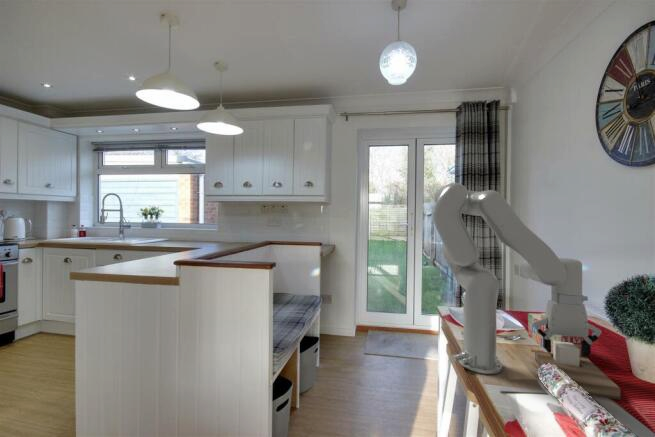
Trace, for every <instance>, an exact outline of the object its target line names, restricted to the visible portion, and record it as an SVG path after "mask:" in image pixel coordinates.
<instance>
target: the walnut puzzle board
mask: <svg viewBox="0 0 655 437" xmlns="http://www.w3.org/2000/svg"><path fill="white" fill-rule="evenodd" d="M534 361H535V362H536V363H537V365H538V366H539V367H540V366H541V365H543V364H548V363H550V364H554V365H556V366H557V367H558V368H559V369H561V370H563V371H564V372H565V373H566V374H567V375H568V376H569V377H570V378H571V379H572V380H573V381H575V382H576V383H577V384H578V385H579V386H581V387H582V388H583V389H584V390H585V391H587V392H588V393H589V394H590V395H589V396H594V397H599V398H600V397H601V398H607V399H614V400H621V388H620V387H619V386H618V384H616V383H615V382H614V381H613V380H612V379H611V378H610V377H608V375H606V374H605V373H604V372H603V371H602V370H601V369H600V368H599V367H598V366H597V365H595V364H594V362H593V361H591V360H590V359H589V358H588V357H585V356H581V357H580V360H579V367H578V366H571V365H564V364H557V362H556V361H555V360H554V359H553V353H548V352H547V351H540V350H534Z"/></svg>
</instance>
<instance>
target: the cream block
mask: <svg viewBox="0 0 655 437" xmlns="http://www.w3.org/2000/svg"><path fill="white" fill-rule="evenodd" d="M553 359H554V360H555V361H556V362H557V364H564V365H571V366H578V367H579V360H580V350H579V349H578V348H577V347H576V346H575V345H574V344H573V343H568V342H559V341H553Z"/></svg>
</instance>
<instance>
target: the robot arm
mask: <svg viewBox="0 0 655 437" xmlns="http://www.w3.org/2000/svg"><path fill="white" fill-rule="evenodd" d="M434 193H435V194H434V203H435V204H434V209H433V222H434V227H435V229H436V231H437V233H438V235H439V238H440V239H441V242H442V247H441V253H442V255H443V257H444V260H445V261H446V264H447V265H448V267H449V269H450V271H451V273H452V275H453V277H454V278H455V280H456V281H457V283H458V284H459V286H461V287H462V289H464V290H465V294H464V298H463V307H462V308H463V310H462V311H463V312H462V313H463V314H462V315H463V348H460V352H458V354H457V353H456V354H451V360H452V362H459V364H460V365H461V366H462V367H463V368H465V369H467V370H469V371H471V372H475V373H478V374H483V375H484V374H485V375H493V374H498V373H501V372H502V370H503V365H502V364H503V363H501V361H499V360H498V359H497V303H498V298H499V297H498V296H499V293H500V284H499V280H498V278H497V276H496V274H494V272H492V271H491V270H490V269H488V268H486V267H484V266H481V265H480V263H479V257H480V251H479V247H478V246H477V244H476V242H475V241H474V240H473V238H472V235H471V233H470V232H469V230H468V228H467V227H466V224H465V222H464V220H463V215H462V214H464V215H469V216H475V217H476V216H477V217H481V218H482V219H483V220H484V222H485V223H486V225H488V227H489V228H490V230H491V231H492V232H493V234H494V235H495V236H496V237H497V239H498V240H499V241H500V242H501V243H503V245H504V246H506V247H508V248H509V249H512V250H513V251H515V252H516V253H517V254H518V255H520V256H521V257H522V258H523V260H522V262H521V264H520V271H521V273H522V274H523V275H524V276H525V277H526V278H528V279H529V280H532V281H535V282H538V283H540V284H541V285H545V286H548V287H551V294H550V295H551V296H550V297H551V298H550V299H548V301H547V303H546V309H545V313H546V314H545V319H543V320H540V321H537V322H534V323H533V325H534V326H535V328H536V330H537V331H538V333H539V334H540V335H542V336H543V347H544V349H545V352H548V353H550V352H551V340H550V339H549V338H550V337H552V336H553V335H554V334H555V335H562V336H571V337H582V341H581V354H582V355H583V357H587V358H588V359H589V357H590V354H591V351H592V349H591V348H592V347H591V346H592V345H594V344H593V343H594V342H596V341H597V340H598V339H599V337H600V335H602V330H601V329H600V328H598V327H596V326H595V325H592V324H590V323H589V320H588V319H589V318H588V315H587V314H588V313H587V308H586V306H585V305H586V304H584V302H585V301H588V300H589V298H588V297H589V296H587V295H584V294H583V263H582V261H581V260H578V259H575V258H574V259H573V258H565V257H564V258H562V257H561V258H559V257H558V255H557V254H556V253H555V251H553V249H552V248H551V247H550V246H549V245H548V244H547V243H546V242H545V241H543V240H542V238H540V237H539V236H538V235H537V234H536V233H534V231H532V230H531V229H530V228H529V227H527V225H525V224H524V222H523V221H522V220H521V218H520V216H518V214H517V213H516V212H515V210H514V209H513V208H512V206H511V205H510V204H509V202H508V201H507V200H506V199H505V198H504V196H503V195H502V194H501V193H500V192H499V191H496V190H493V189H488V190H482V191H477V190H476V191H475V190H469V189H467V188H466V187H465V186H464V185H463V184H462V183H458V182H452V183H448V184H446V185H445V184H444V186H443V185H442V186H441V187H439V188H438V189H437V190H436V192H434ZM542 325H545V328H546V330H545V331H544V332H543V331H542V330H541V328H540V327H541V326H542ZM589 330H591V331H592V333H591V334H589ZM543 347H542V348H543Z"/></svg>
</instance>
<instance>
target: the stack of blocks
mask: <svg viewBox="0 0 655 437" xmlns="http://www.w3.org/2000/svg"><path fill="white" fill-rule="evenodd" d="M545 314H546V312H542V313H527V323H528V324H527V326H528V332H527V335H528V336H529V337H530V338H531V339H532V340H533V341H534V342H536V343H537V344H538V345H539V346H541V347H542V348H544V347H543V336H542V335H540V334H539V333H538V331H537V330H536V328H535V326H534V325H533V323H534V322H537V321H540V320H543V319H545ZM540 328H541V330H542V331H543V332H544V331H545V330H546V328H545V325H542V326H541V327H540ZM549 339H550V340H551V352H550V353H553V341H559V342H568V343H573V344H574V345H575V346H576V347H577V348H578V349H579V350H580V357H582V355H583V354H582V353H581V341H582V340H583V338H582V337H571V336H562V335H555V334H554V335H553V336H552V337H550V338H549ZM544 349H545V348H544Z"/></svg>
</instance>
